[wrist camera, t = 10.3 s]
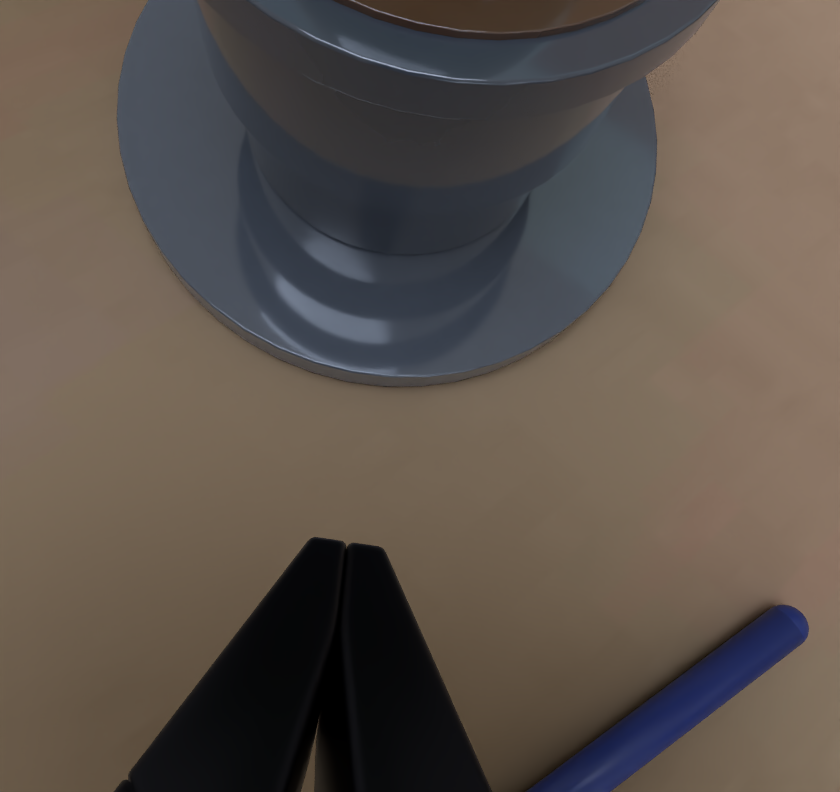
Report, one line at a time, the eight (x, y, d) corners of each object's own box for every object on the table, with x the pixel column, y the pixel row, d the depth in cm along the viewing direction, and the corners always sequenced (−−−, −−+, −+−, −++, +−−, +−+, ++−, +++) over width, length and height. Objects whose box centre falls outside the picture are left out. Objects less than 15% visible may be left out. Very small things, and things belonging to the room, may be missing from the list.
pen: (782, 612, 21) (781, 580, 20) (819, 641, 20) (820, 609, 19) (358, 931, 18) (336, 909, 17) (379, 984, 17) (357, 963, 16)
